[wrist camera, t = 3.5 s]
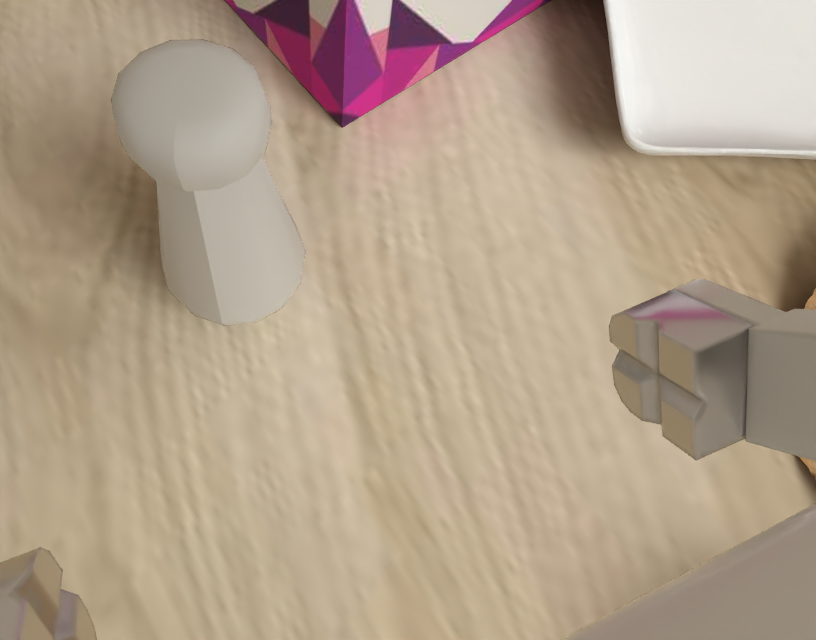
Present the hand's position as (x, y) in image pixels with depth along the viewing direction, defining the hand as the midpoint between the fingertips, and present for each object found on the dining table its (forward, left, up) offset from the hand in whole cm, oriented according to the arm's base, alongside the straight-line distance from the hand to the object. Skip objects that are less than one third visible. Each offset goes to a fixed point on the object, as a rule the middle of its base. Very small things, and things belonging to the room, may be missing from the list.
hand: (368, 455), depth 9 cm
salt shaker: (+3, +11, -19) cm, 22 cm away
